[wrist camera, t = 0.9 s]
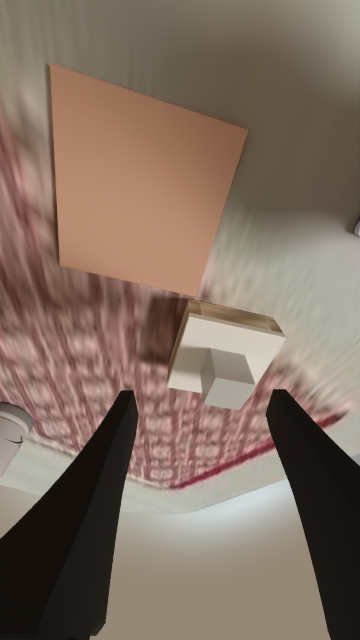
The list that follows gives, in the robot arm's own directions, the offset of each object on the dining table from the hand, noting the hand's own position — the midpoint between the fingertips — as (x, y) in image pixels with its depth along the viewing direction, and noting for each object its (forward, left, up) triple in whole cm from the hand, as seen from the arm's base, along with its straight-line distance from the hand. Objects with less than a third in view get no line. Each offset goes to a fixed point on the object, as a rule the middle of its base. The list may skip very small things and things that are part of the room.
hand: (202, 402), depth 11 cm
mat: (+6, -7, -10) cm, 13 cm away
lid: (-3, +3, -7) cm, 8 cm away
